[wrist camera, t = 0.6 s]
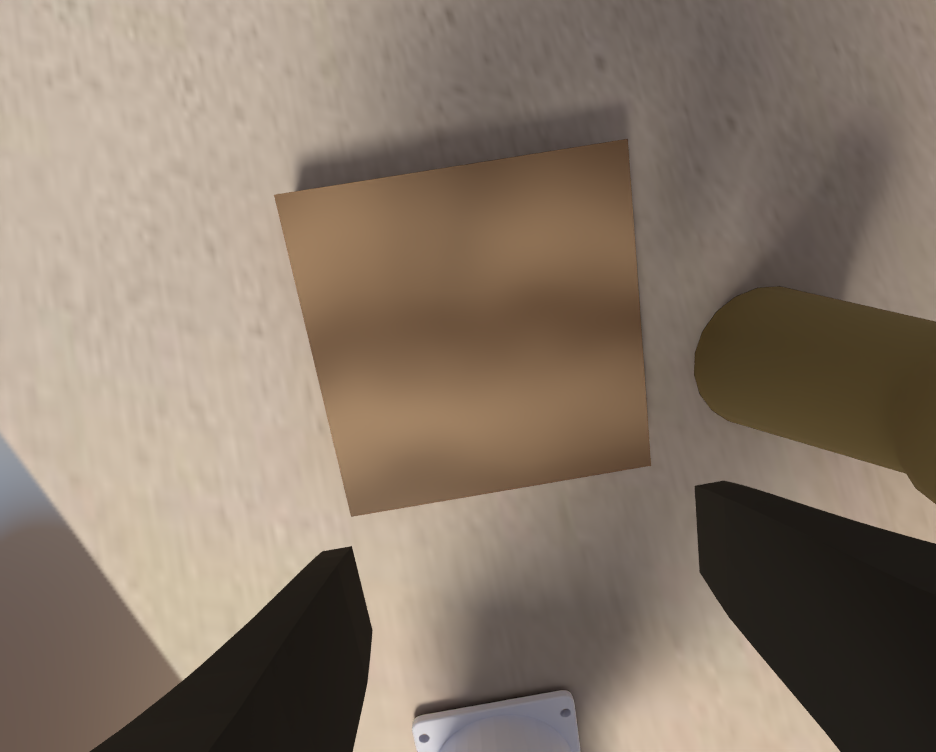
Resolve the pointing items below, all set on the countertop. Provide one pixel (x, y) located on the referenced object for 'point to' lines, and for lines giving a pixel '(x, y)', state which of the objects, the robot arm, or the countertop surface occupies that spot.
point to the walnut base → (475, 324)
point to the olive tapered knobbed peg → (826, 377)
